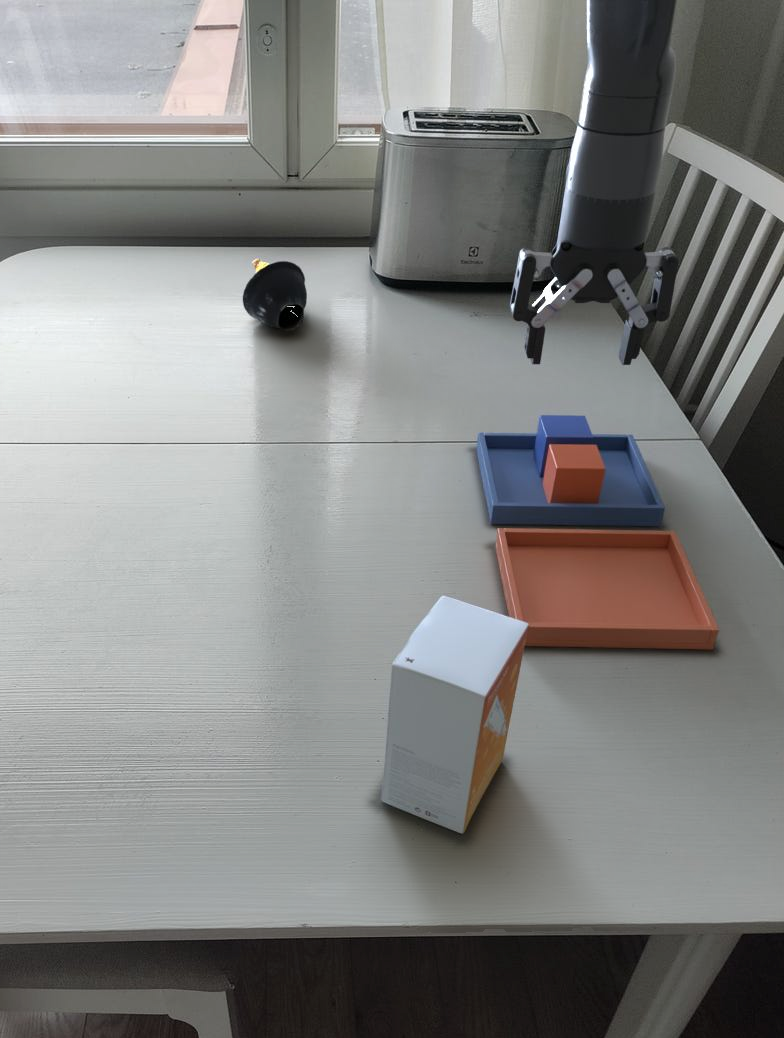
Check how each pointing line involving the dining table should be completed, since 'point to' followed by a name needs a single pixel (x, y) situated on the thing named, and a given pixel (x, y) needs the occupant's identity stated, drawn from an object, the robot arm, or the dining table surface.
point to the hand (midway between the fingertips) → (579, 361)
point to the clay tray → (603, 589)
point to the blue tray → (524, 501)
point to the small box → (451, 711)
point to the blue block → (559, 435)
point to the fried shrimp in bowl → (276, 294)
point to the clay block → (573, 474)
